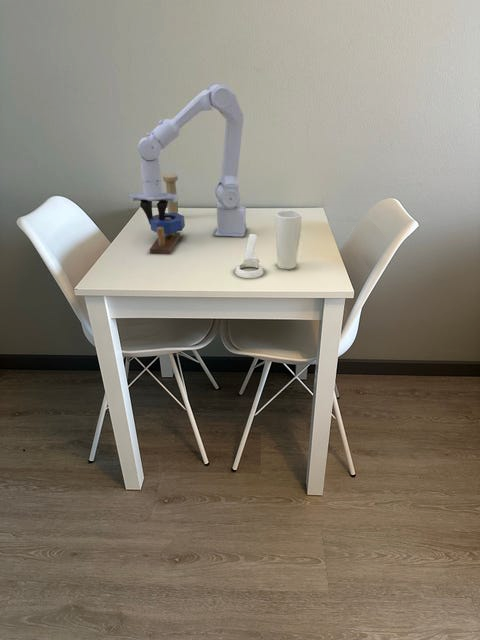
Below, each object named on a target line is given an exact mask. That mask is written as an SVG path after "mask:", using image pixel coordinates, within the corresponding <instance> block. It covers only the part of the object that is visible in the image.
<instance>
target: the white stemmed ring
mask: <svg viewBox="0 0 480 640" xmlns="http://www.w3.org/2000/svg"><path fill="white" fill-rule="evenodd" d="M258 237H259V236H258V235H257V234H256V233H255V234H254V233H250V234H249V235H248V239H247V244H246V248H245V253H244V257H243V260H242V261H243V262H242V263H239V264H238V265H237V266H236V268H235V271H234V272H235V275H236V276H237V277H240V278H244V279H256V278H259V277H262V275H264V269H263V267H262V266H261V265H260V259H259V257H258V256H255V251H256V247H257V242H258ZM244 268H254V269H256V270H243V269H244Z"/></svg>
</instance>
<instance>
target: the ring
mask: <svg viewBox="0 0 480 640" xmlns="http://www.w3.org/2000/svg"><path fill="white" fill-rule="evenodd" d="M167 217H170V218H171V220H165V218H167ZM149 226H150V231H152V232H154V233H156V234H157V227H163V228H164V233H174V232H182V231H183V230H184V229H185V227H186V223H185V215H183V214H180V213H179V212H178V213H168V212H165V215H164V220H160V219H159V213H158V214H155V215H154V214H153V217H152V218H151V219H150V224H149Z"/></svg>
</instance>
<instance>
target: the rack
mask: <svg viewBox="0 0 480 640" xmlns="http://www.w3.org/2000/svg"><path fill="white" fill-rule="evenodd" d="M165 220H171V218H170V217H167V218H165ZM181 232H182V231H178V232H174V233H164V228H163V227H157V233H156V234H157V238H156V240H155V241H154V242H153V243H152V245H151V246H150V248H149V254H160V255H170V254H171V253H172V251H173V250H174V248H175V246H176V245H177V243H178V242H179V240H180V238H181V237H182V233H181Z"/></svg>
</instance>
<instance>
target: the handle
mask: <svg viewBox="0 0 480 640" xmlns="http://www.w3.org/2000/svg"><path fill="white" fill-rule="evenodd" d="M178 176H179V175H178V174H176V173H171V172H170V173H163V174H162V181H163V182H165V189H166V190H165V191H166V192H165V193H169V194H177V195H178V193H177V186H176V183H177V181H178V179H179V177H178ZM178 201H179V200H178ZM178 201H177V202H173V201H168V204H167V207H166V208H167V213H178V214H179V202H178Z"/></svg>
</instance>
